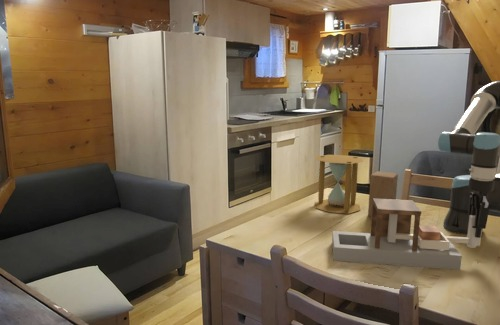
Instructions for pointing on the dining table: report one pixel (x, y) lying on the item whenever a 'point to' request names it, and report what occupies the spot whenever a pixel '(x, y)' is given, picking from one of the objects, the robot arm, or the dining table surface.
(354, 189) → the hourglass
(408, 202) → the tunnel
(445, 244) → the slider
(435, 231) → the block
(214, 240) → the dining table surface
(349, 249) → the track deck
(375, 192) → the wooden block
